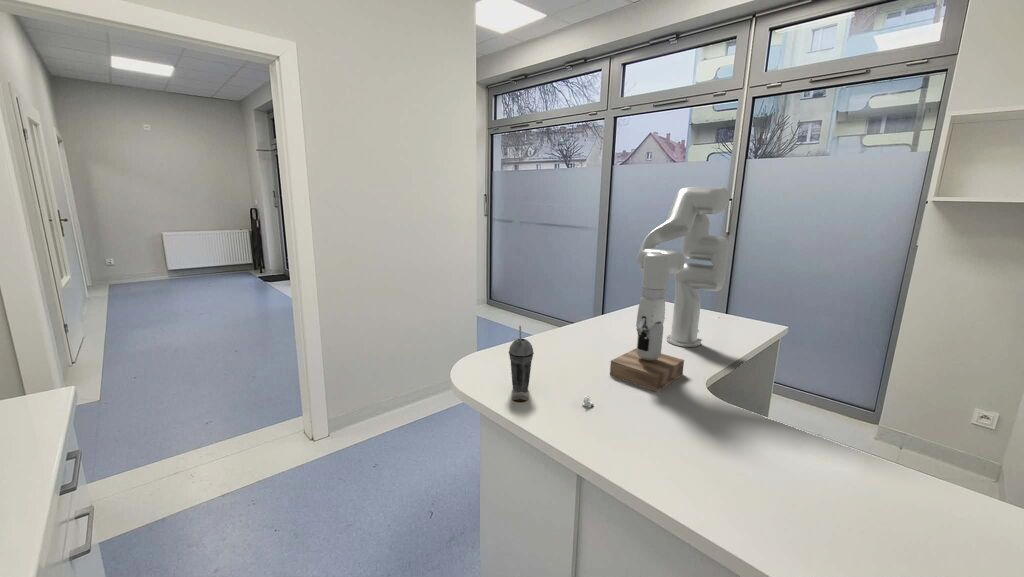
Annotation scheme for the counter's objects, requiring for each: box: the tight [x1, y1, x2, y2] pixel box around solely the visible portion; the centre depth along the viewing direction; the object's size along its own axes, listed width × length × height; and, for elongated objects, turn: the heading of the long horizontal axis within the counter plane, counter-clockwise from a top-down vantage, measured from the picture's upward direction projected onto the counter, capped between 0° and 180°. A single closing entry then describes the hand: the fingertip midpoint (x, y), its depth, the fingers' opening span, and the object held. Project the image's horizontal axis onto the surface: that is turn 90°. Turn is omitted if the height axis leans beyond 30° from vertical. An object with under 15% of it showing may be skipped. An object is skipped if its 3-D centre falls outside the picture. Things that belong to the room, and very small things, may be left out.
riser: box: [609, 347, 685, 392], centre depth 136 cm, size 18×16×5 cm
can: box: [636, 322, 664, 360], centre depth 134 cm, size 8×8×12 cm
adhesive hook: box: [581, 394, 595, 408], centre depth 116 cm, size 3×3×3 cm
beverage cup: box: [508, 325, 534, 393], centre depth 123 cm, size 7×7×20 cm
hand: (649, 346), depth 134 cm, fingers closed on can, 7 cm apart
